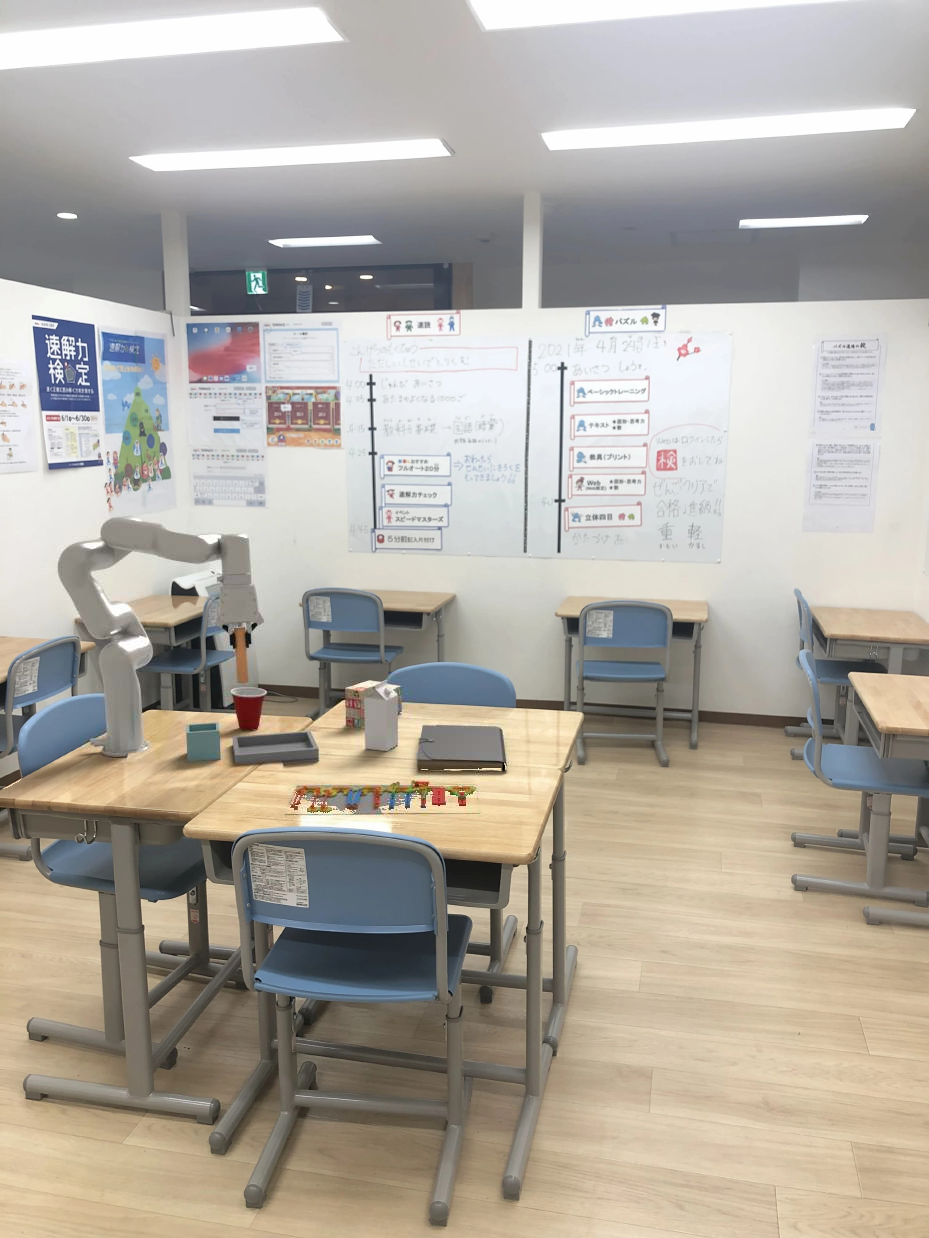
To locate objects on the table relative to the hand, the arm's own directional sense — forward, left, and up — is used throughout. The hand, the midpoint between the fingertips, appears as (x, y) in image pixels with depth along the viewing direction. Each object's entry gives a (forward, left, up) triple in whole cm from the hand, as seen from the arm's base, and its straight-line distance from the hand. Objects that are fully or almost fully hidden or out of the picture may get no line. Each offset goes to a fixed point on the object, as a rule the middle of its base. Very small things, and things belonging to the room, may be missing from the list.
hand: (240, 647), depth 249 cm
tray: (+8, 0, -31) cm, 32 cm away
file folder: (+59, -12, -32) cm, 68 cm away
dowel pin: (0, 0, -10) cm, 10 cm away
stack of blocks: (+42, +29, -31) cm, 60 cm away
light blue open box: (-11, +1, -31) cm, 33 cm away
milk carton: (+38, -1, -31) cm, 49 cm away
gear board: (+31, -43, -32) cm, 62 cm away
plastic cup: (+3, +29, -31) cm, 42 cm away
